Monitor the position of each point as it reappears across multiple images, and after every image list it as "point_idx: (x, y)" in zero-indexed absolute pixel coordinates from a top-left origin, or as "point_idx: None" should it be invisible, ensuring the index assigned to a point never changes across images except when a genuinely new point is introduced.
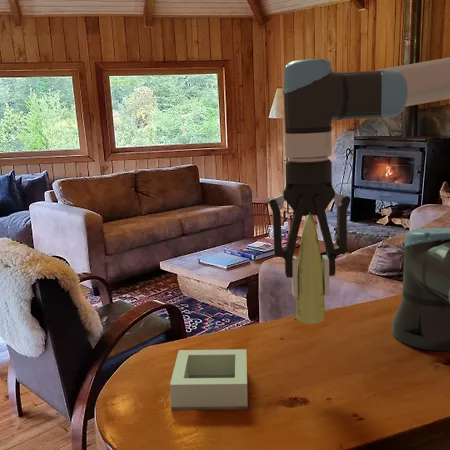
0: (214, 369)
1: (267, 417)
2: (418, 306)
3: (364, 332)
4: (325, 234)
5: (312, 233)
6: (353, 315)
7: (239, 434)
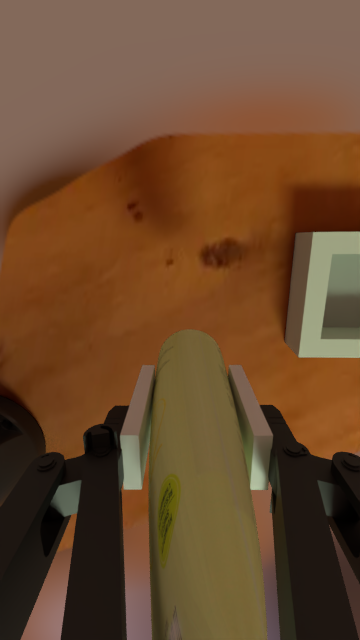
0: (343, 330)
1: (268, 209)
2: None
3: None
4: (105, 553)
5: (203, 520)
6: None
7: (315, 162)
